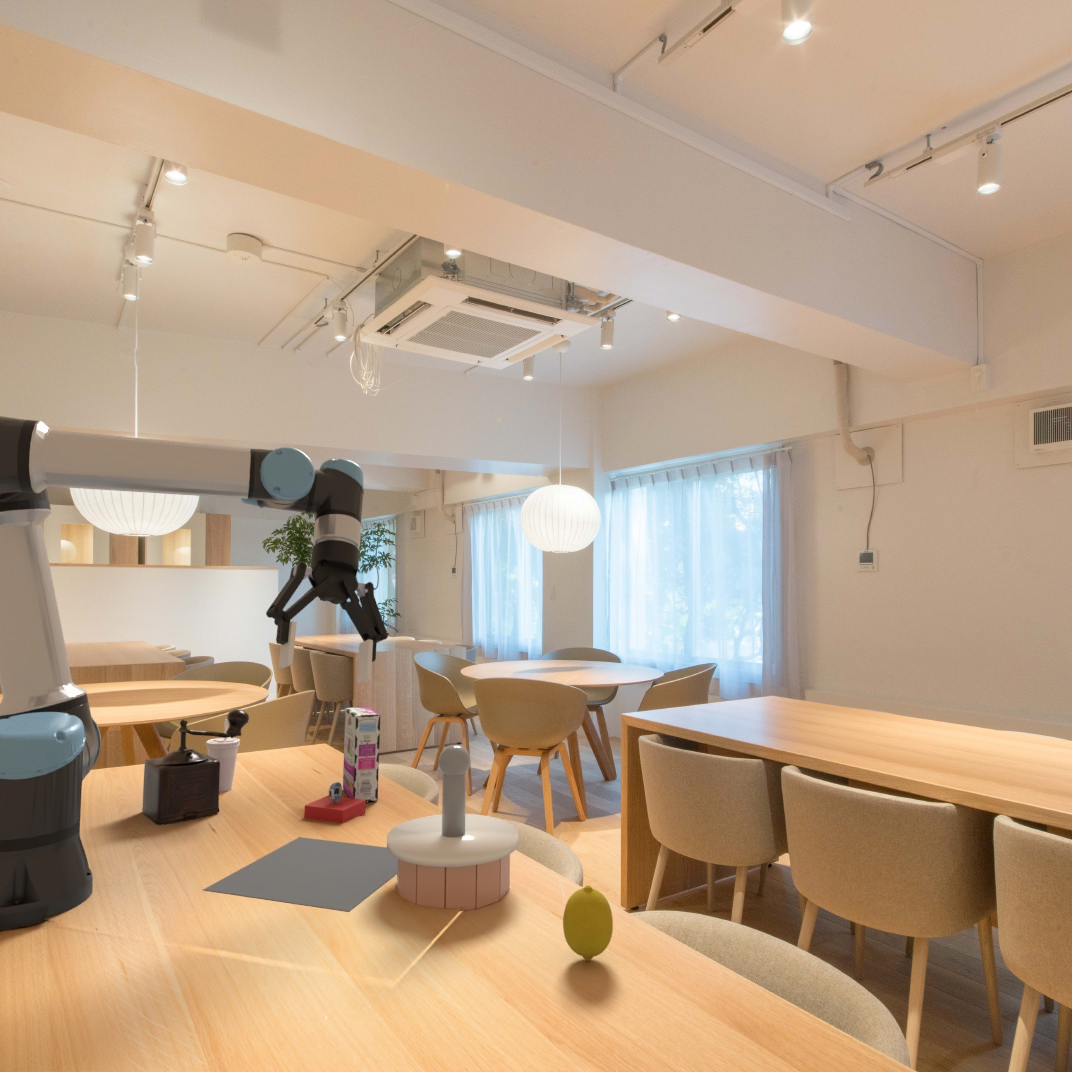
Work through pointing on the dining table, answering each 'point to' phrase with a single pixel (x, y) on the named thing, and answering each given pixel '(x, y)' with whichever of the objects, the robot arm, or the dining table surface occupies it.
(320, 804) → the red rectangular block
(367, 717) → the candy bar box
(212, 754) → the smoothie
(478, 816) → the lid
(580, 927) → the lemon
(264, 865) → the mat
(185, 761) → the coffee grinder
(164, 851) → the dining table surface
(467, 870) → the bowl
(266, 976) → the dining table surface
